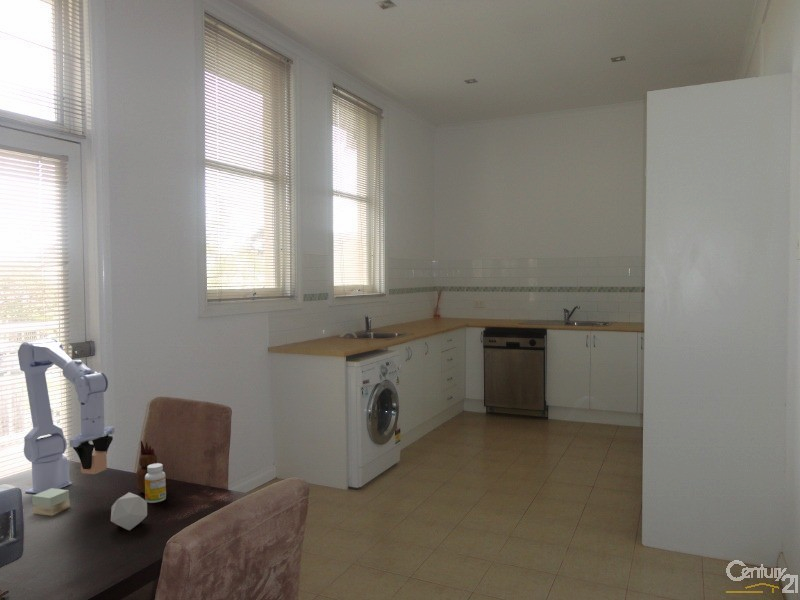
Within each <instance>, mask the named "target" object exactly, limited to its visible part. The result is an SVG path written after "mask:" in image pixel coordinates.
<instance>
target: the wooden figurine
mask: <svg viewBox="0 0 800 600" xmlns="http://www.w3.org/2000/svg"><path fill="white" fill-rule="evenodd" d="M138 459H139V460H138V461H139V462H138V463H139V467H138V469H137V470H136V473H135V476H136V477H135V483H136V486H137V490H138V491H139V492H141V493H142V494H145V475H146V474H147V473H148V471H147V467H148V465H151V464H156V463H158V457H157V454H156V453H155V449H154V447H151V445H149V444H148V442H147V441H146V442H145V446H144V443H143V440H140V456H139V458H138Z"/></svg>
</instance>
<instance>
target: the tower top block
mask: <svg viewBox="0 0 800 600" xmlns="http://www.w3.org/2000/svg"><path fill="white" fill-rule="evenodd" d="M31 496H32V497H31V498H32V500H31V501H32V506H33V505H36V506H43V507H52V506H55V505H57V504H60V503H62V502H64V501H67V500H69V499H70V491H69V489H63V488H60V489H55V488H51V489H48V490H46V491H43V492H41V493H34V494H33V495H31Z"/></svg>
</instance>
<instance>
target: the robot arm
mask: <svg viewBox="0 0 800 600" xmlns="http://www.w3.org/2000/svg"><path fill="white" fill-rule="evenodd" d="M63 348H64V347H63V344H62V342H60V341H59V340H58V338H57V339H56V338H51V339H47V340H46V339H45V340H35V341H22V343H20V345H19V347H18V350H17V358H18V362H19V364H18V365H19V369H20V371H21V372H24V379H25V384H26V391H27V396H28V402H29V410H30V416H31V423H32V429H30V431H29V432H28V433H27V434H25V436H24V437H23V439H24V440H23V441H24V445H23V454H24V457H25V458H26V460H27V461H28V462H31V477H32V478H31V481H32V482H31V483H32V484H31V485H32V486H31V488H27V489H26V490H24V493H30V494H31V493H32V494H38V493H41V492H43V491H46V490H48V489H51V488H55V489H63V488H65V487H67V486H70V485H72V481H70V462H69V460H68V458H67V457H66V456H65V455H63V454H64V453H66V451H67V448H68V441H67V439H66V437H65V435H64V432H63V428H62V427H59V426H57V425H55V424H54V420H53V415H52V406H51V402H50V396H49V389H48V383H47V378H46V372H47V371H48V369H49V368H51V367H53V366H54V365H55V366H56V367H58V368H60V369H61V370H62V375H63V376H64V378H66V379H67V380H68V381H69V382H70V383H72V385H74V389H75V392H76V394H77V400H78V402H79V404H80V405H79V406H80V429H81V430H80V434H78V435H76V436H75V437H73V438H71V439H69V447H70V448H73V450H74V452H75V453H76V454H77V456H78V458H79V461H80V465H81V464H82V467H83V469H91V465H92V453H93V450H95V451H106V455H107V454H108V451H109V447H110V445H111V443H112V442H113V440H114V439H113V438H114V437H113V436H112V435H114V434H115V432H116V431H115V426H106V427H105V403H104V397H105V395H104V393H105V392H106V391H108V388H109V379H108V377H107V375H106V374H105V373H104V372H103V371H98V372H97V371H93V370H92V369H91V368H90V367H89V366H87V365H86V364H85V363H83V361H82V360H81V359H74V360H73V359H72V358H71V357H70V356H69V355H68V354H67V353H66V352H65V350H64V349H63ZM43 436H44V437H43ZM90 442H92V443H93V444H91V443H90Z"/></svg>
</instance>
